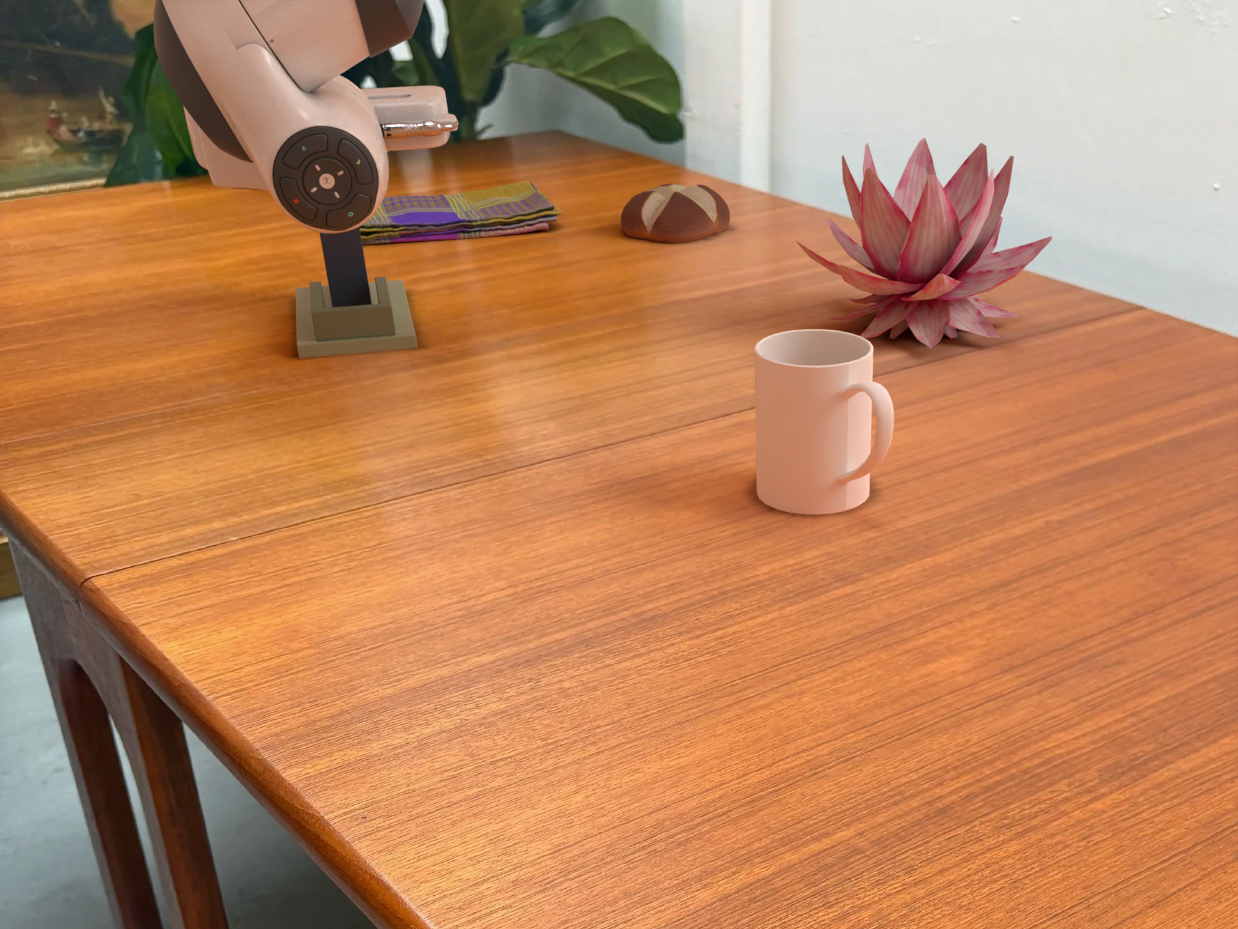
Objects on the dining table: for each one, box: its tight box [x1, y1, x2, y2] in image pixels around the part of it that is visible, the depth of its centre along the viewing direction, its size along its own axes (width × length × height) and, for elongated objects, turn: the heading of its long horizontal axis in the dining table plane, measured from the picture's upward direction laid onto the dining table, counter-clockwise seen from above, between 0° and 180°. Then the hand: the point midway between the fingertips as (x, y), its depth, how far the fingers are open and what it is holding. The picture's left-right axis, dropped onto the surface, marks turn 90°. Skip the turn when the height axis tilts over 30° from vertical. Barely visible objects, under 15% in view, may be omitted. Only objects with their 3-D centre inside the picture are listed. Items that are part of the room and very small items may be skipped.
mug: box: [753, 328, 895, 516], centre depth 101 cm, size 12×8×10 cm, turn 34°
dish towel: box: [359, 180, 563, 246], centre depth 168 cm, size 18×24×3 cm
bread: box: [620, 183, 731, 244], centre depth 164 cm, size 11×11×5 cm
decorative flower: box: [795, 137, 1053, 349], centre depth 132 cm, size 21×21×15 cm
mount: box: [295, 227, 418, 359], centre depth 134 cm, size 18×10×14 cm, turn 16°
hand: (318, 104), depth 125 cm, fingers closed on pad, 3 cm apart
